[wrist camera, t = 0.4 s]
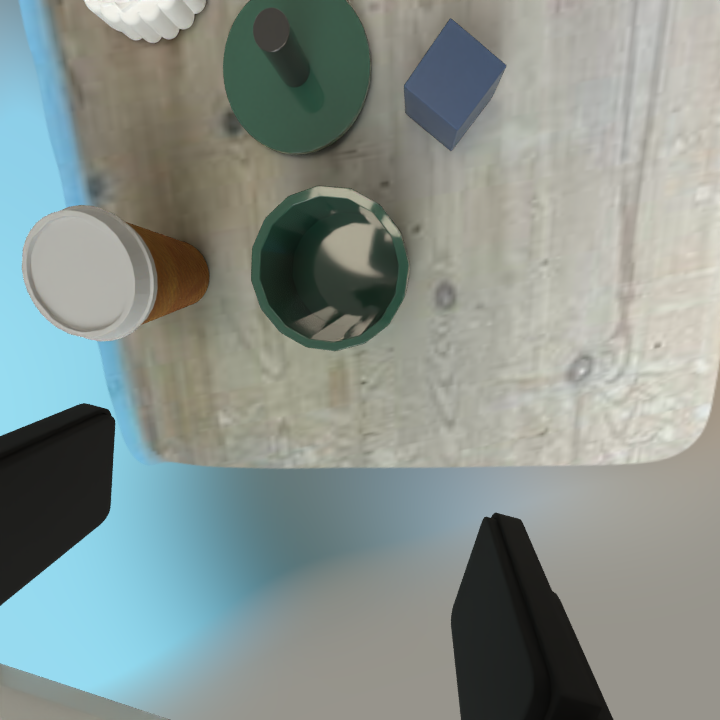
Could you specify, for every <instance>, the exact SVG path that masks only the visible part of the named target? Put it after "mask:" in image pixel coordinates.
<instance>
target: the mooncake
mask: <svg viewBox="0 0 720 720" xmlns="http://www.w3.org/2000/svg"><path fill="white" fill-rule="evenodd" d="M84 1H85V3H86V5H87V7H88V8H89V9H90V10H91V11H92V12H93V13H95V14H96V15H97V16H98V17H100V18H101V19H102V20H103V21H105V22H106V23H107V24H108V25H110V26H111V27H112V28H113V29H115V30H117V31H121V32H123V33H124V34H125V35H126V36H128V37H129V38H130V39H132V40H140V39H142V38H143V39H144V40H146V41H147V42H149V43H156V42H158V41H159V40H160V39H161V38H162V37H163V38H165V39H173V38H175V37H176V36H177V35H178V33H179V29H188V28H189V27H191V25H192V24H193V22H194V14H197V13H200V12H201V11H202V10H203V9H204V7H205V4H206V0H84Z"/></svg>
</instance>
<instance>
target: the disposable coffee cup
mask: <svg viewBox="0 0 720 720" xmlns="http://www.w3.org/2000/svg"><path fill="white" fill-rule="evenodd" d="M22 272H23V278H24V282H25V285H26V288H27V291H28V293H29V295H30V297H31V299H32V301H33V303H34V304H35V306H36V307H37V309H38V310H39V311H40V313H41V314H42V315H43V316H44V317H45V318H46V319H47V320H48V321H49V322H51V323H52V324H53V325H54V326H56V327H57V328H59V329H61V330H63V331H65V332H67V333H69V334H71V335H76V336H80V337H84V338H86V339H90V340H96V341H112V340H116V339H120V338H123V337H125V336H127V335H129V334H130V333H132V332H134V331H135V330H136V329H137V328H138V327H139V326H140V325H142V324H144V323H147V322H149V321H152V320H154V319H157V318H159V317H162V316H164V315H167V314H169V313H172V312H174V311H177V310H179V309H181V308H184V307H187V306H189V305H192V304H194V303H196V302H198V301H199V300H200V299H201V298H202V297H203V295H204V294H205V292H206V290H207V288H208V283H209V271H208V267H207V264H206V261H205V259H204V258H203V256H202V255H201V253H200V252H199V251H198V250H197V249H196V248H194V247H193V246H192V245H190V244H188V243H186V242H182V241H179V240H176V239H173V238H171V237H168V236H165V235H162V234H159V233H156V232H153V231H150V230H147V229H144V228H142V227H139V226H135V225H133V224H130V223H127V222H125V221H123V220H122V219H121V218H119V217H118V216H117V215H115V214H113V213H111V212H109V211H106V210H104V209H101V208H98V207H94V206H85V205H78V206H72V207H67V208H65V209H63V210H61V211H58V212H54V213H51V214H49V215H47V216H45V217H43V218H42V219H41V220H39V221H38V222H37V223H36V224H35V225H34V227H33V228H32V229H31V230H30V232H29V234H28V236H27V238H26V240H25V244H24V247H23V255H22Z"/></svg>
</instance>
